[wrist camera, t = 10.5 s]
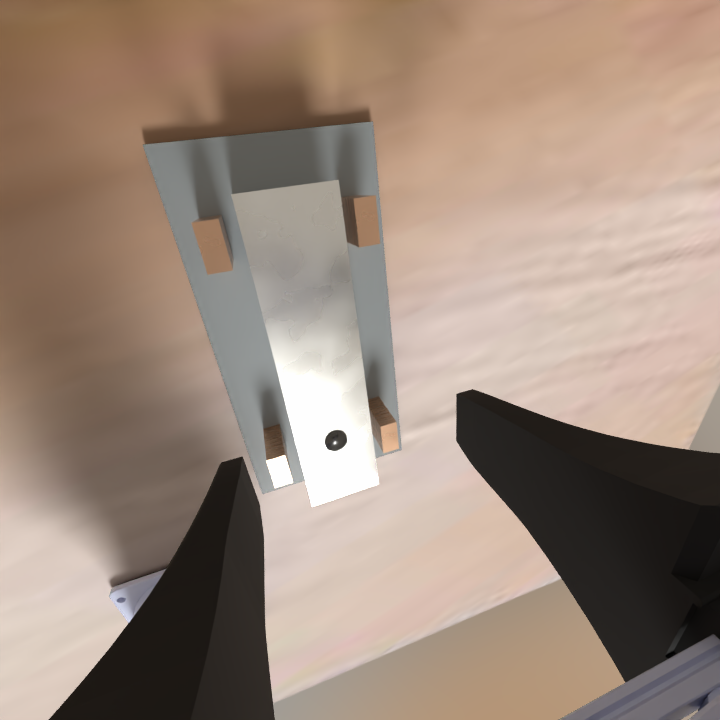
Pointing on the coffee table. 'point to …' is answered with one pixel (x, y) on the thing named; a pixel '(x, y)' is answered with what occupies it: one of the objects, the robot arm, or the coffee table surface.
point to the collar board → (235, 282)
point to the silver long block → (312, 330)
